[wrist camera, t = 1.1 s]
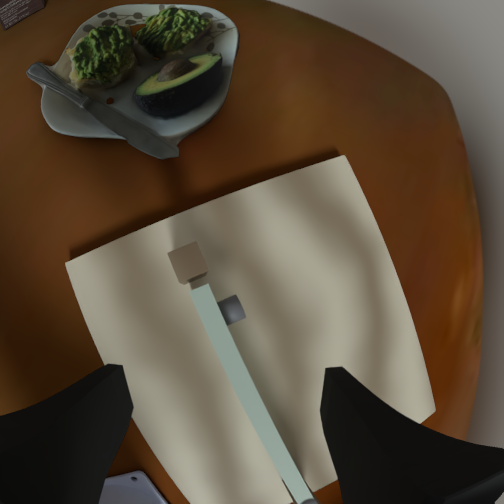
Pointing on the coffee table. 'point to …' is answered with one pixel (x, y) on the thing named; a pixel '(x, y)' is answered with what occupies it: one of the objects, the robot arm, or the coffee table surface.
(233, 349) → the door
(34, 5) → the box
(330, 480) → the door frame board
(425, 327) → the coffee table surface
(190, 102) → the salad plate
